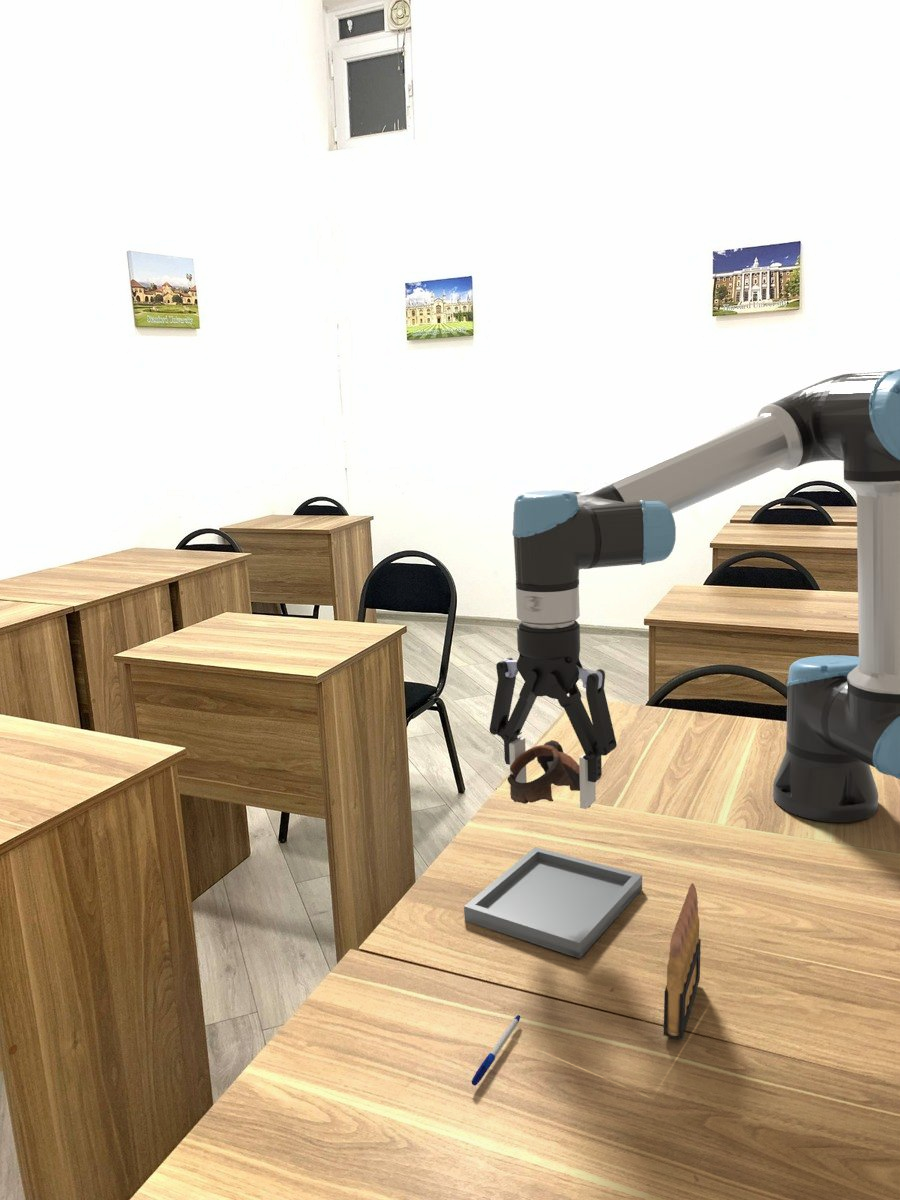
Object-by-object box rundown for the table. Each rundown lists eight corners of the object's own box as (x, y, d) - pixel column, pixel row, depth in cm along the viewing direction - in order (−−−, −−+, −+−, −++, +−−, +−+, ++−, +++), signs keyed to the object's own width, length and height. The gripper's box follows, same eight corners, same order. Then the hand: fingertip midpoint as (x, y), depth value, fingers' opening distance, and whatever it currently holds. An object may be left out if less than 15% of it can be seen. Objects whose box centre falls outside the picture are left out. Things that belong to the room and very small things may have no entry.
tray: (642, 889, 121) (642, 875, 120) (579, 958, 106) (579, 943, 106) (535, 860, 130) (535, 846, 129) (464, 920, 115) (464, 906, 115)
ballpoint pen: (478, 1088, 87) (478, 1079, 87) (470, 1086, 88) (469, 1077, 87) (521, 1020, 96) (521, 1012, 96) (513, 1018, 97) (513, 1009, 97)
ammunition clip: (681, 1041, 92) (684, 935, 90) (663, 1036, 93) (665, 931, 90) (699, 978, 102) (702, 880, 99) (682, 974, 103) (685, 877, 100)
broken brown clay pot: (599, 822, 110) (567, 774, 107) (530, 848, 113) (497, 802, 110) (594, 759, 121) (564, 713, 118) (530, 784, 124) (500, 740, 120)
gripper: (455, 619, 113) (463, 790, 118) (619, 637, 101) (620, 827, 106) (487, 607, 119) (494, 770, 124) (646, 622, 107) (646, 802, 112)
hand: (552, 796), depth 115 cm, fingers closed on broken brown clay pot, 9 cm apart
